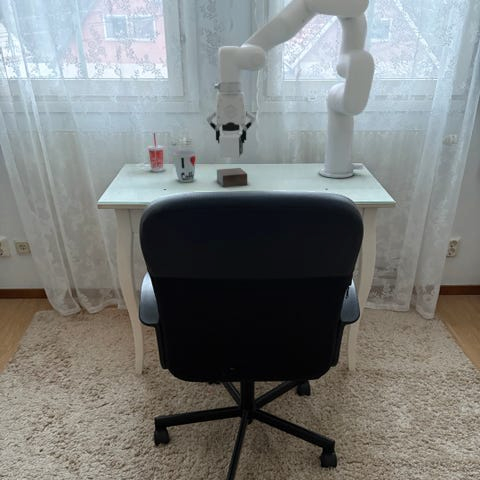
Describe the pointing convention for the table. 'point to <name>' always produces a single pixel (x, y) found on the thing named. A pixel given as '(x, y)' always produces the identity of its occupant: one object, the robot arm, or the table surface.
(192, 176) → the cup
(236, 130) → the medicine bottle
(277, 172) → the table surface
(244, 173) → the walnut block
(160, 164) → the beverage cup
